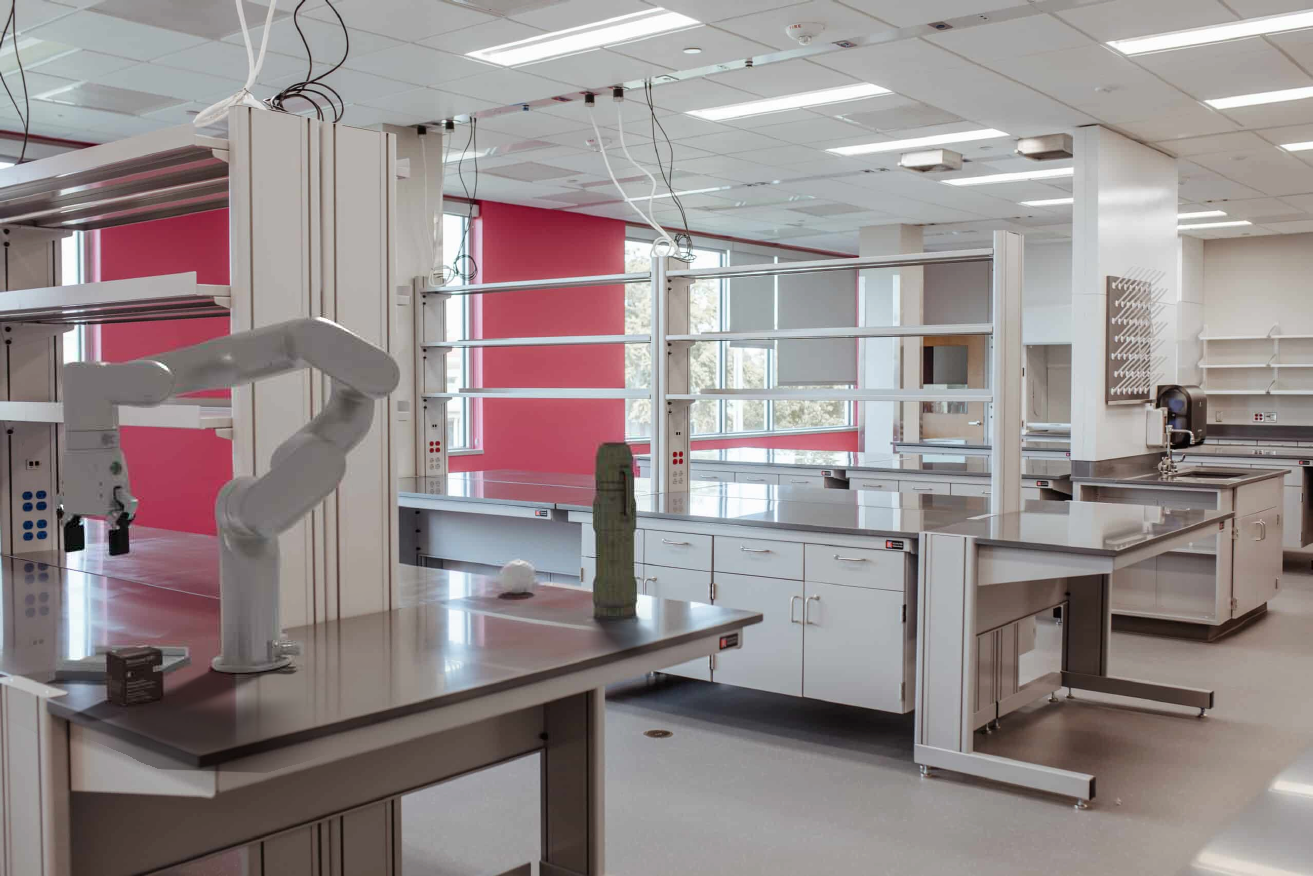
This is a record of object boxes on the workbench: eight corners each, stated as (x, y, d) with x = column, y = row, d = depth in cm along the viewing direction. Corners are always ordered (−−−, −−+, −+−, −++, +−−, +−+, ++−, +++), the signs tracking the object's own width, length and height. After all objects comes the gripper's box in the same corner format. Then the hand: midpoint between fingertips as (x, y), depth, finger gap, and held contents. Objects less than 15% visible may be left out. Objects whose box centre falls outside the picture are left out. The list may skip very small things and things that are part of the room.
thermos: (612, 607, 231) (611, 440, 229) (650, 616, 222) (649, 443, 221) (579, 613, 225) (578, 442, 223) (617, 622, 216) (616, 444, 215)
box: (123, 707, 160) (121, 657, 160) (106, 699, 164) (104, 651, 164) (164, 698, 165) (163, 650, 165) (147, 691, 169) (146, 643, 169)
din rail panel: (190, 662, 186) (189, 646, 186) (150, 682, 174) (149, 664, 174) (100, 660, 187) (100, 644, 187) (55, 679, 176) (54, 662, 175)
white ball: (532, 589, 252) (532, 555, 252) (538, 595, 245) (538, 560, 244) (497, 591, 250) (497, 557, 249) (502, 597, 242) (501, 562, 242)
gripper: (153, 441, 169) (157, 552, 169) (74, 440, 176) (79, 546, 176) (111, 444, 162) (116, 560, 163) (31, 442, 169) (35, 553, 170)
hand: (96, 552), depth 170 cm, fingers open, 9 cm apart
